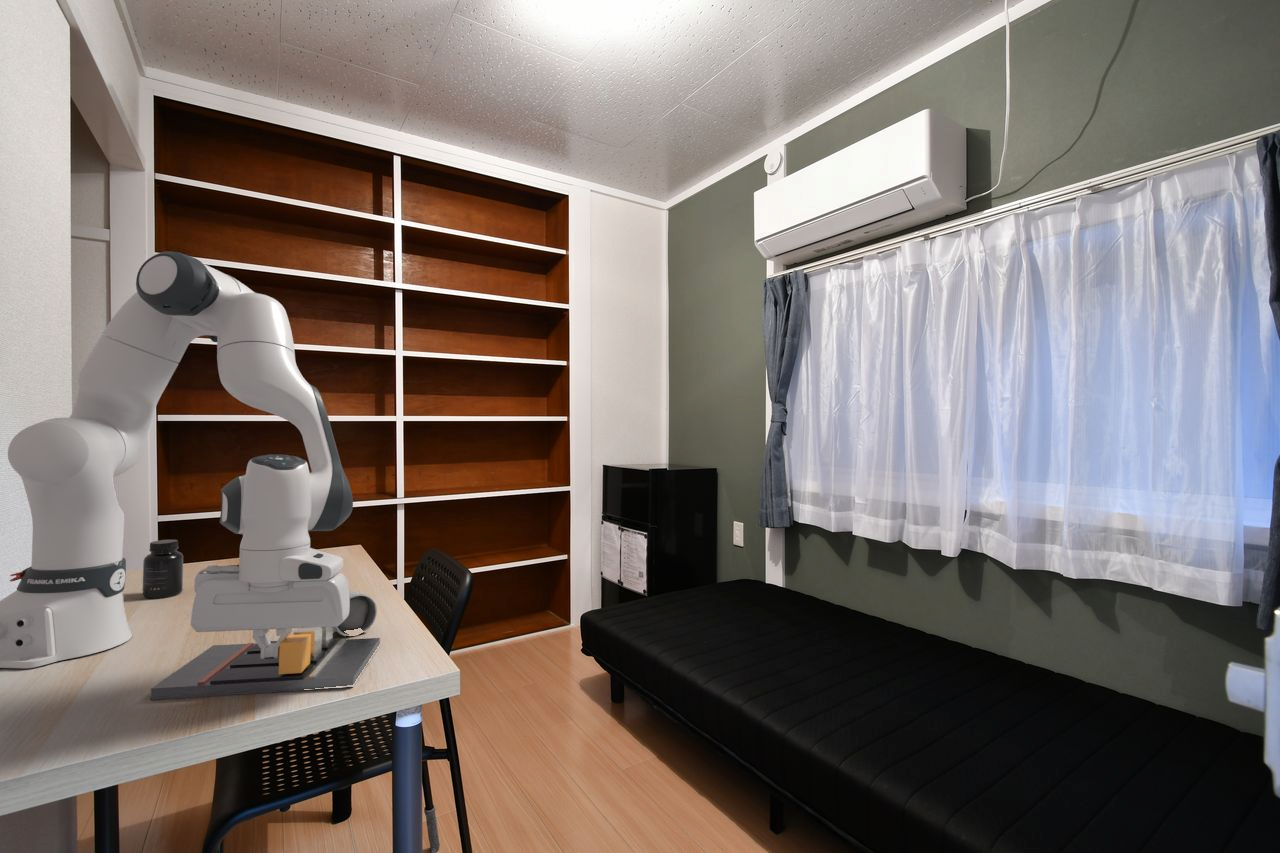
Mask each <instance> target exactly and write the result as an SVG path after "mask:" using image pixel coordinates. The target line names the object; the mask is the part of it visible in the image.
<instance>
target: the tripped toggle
mask: <svg viewBox="0 0 1280 853" xmlns="http://www.w3.org/2000/svg"><path fill="white" fill-rule="evenodd" d="M310 651H311V634H298V635H294V634H289V636H288V637H287V638H286V639H285V640H284V641H283V642H281V643H280V653H279V674H292V673H302V672H303V671H304V669H305V668H306V667H307V666H308V665H309V664H310Z"/></svg>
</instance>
